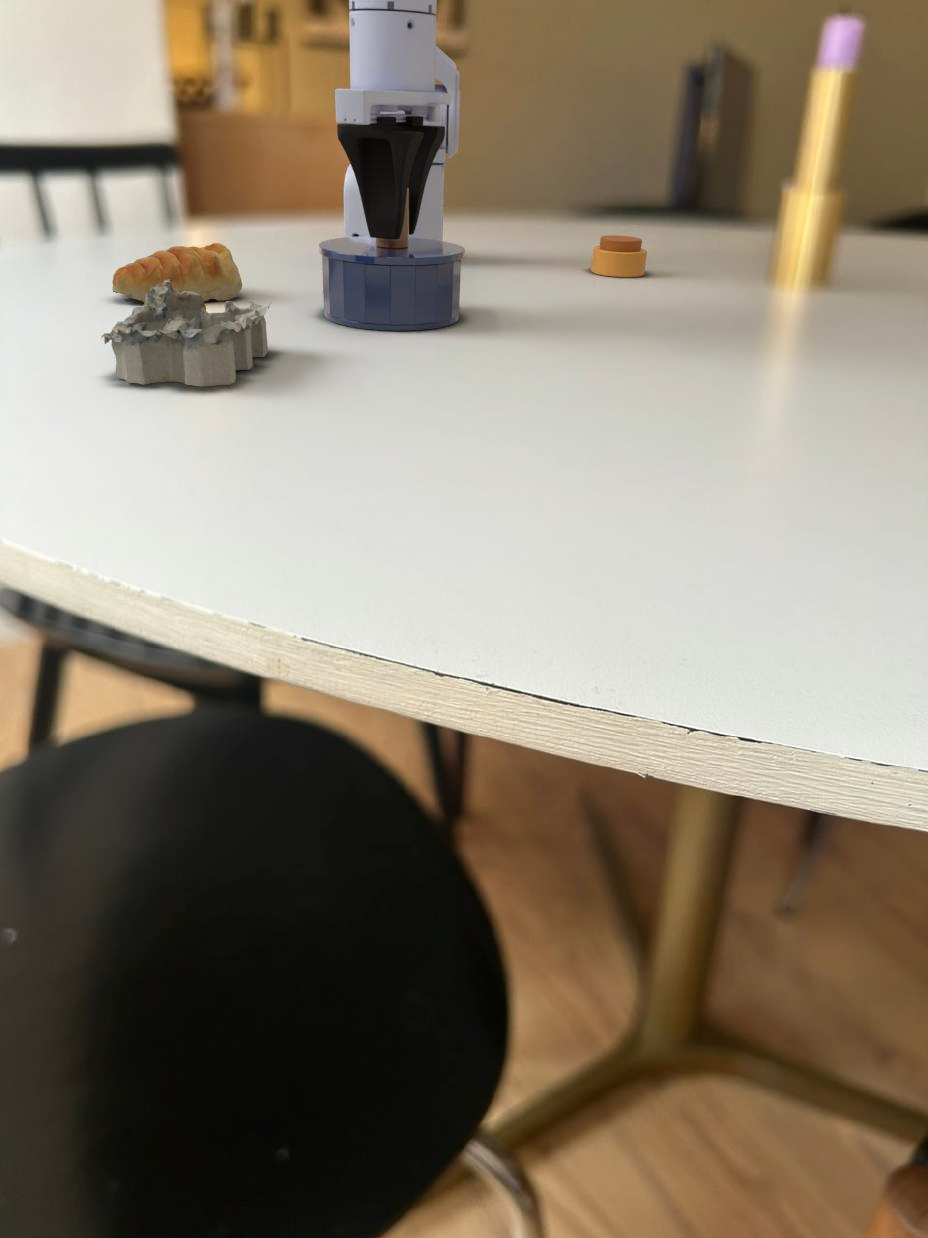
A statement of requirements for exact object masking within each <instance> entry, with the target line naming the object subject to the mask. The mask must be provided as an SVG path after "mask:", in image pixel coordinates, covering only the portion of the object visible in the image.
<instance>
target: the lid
mask: <svg viewBox="0 0 928 1238" xmlns="http://www.w3.org/2000/svg"><path fill="white" fill-rule="evenodd" d="M409 190H410V188H409V187H408V188H407V196H406V205H405V214H404V222H403V227H402V232H401V235H400V239H383V238H371V237H370V236H362V237H345V238H344V237H338V238H337V237H336V238H331V239H325V240H323V241H321V242H319V244H318V253H319V254H320V255H321V256H322V255H324V256H326V257H329V258H333V259H337V260H342V261H349V262H356V263H366V264H380V265H432V264H443V263H450V262H455V261H458V260H461V261H462V260H463V259H464V258H465V257H466V249H465V247H463V246H462V245H460V244H457V243H453V242H449V241H444V240H443V241H438V240H431V239H422V238H411V237H409Z"/></svg>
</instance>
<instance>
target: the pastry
mask: <svg viewBox="0 0 928 1238" xmlns="http://www.w3.org/2000/svg"><path fill="white" fill-rule="evenodd" d="M112 276H113V277H112V281H111V283H112V292H113V293H115V294H120V295H123V296H126V297H127V298H128V297H129V298H131V299H134V300H137V301H140V302H141V301H142V302H143V303H144V304H145V297H146V293H148V292H149V290H150V289H151V288H152V287H155V286H156V285H157V283H159V282H160V283H161V284H163V282H164V281H166V280H168V279H171V280H172V281H171V284H172V287H173V289H177V290H179V291H181V292H183V291H191V292H194V293H197V294H199V295H200V296H201V297H202V299H203V301H204V302H208V301H209V300H211V299H212V300H213V299H214V300H216V301H219V302H220V301H230V300H233V299H235V298H238V297H239V294H240V292H241V290H242V289H243V281H242V278H241V274H240V272H239V268H238V266H237V264H236V263H235V261H234V259H233V254H232V253H231V250H230V249H229V248H228V247H227V246H226V245H224V244H222V243H220V242H213V243H211V244H209V245H205V246H204V247H203V246H202V247H198V246H182V245H176V246H175V245H174V246H171V247H169V248H167V249H165V250H157V251H155V252H154V253H152V254H150V255H147V256H145V257H142V258H138V259H135V260H134V262H130V263H127V264H125V265H124V266H121V267H119V268H118V269H116V270H115V272H114V274H113V275H112Z"/></svg>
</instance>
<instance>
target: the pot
mask: <svg viewBox="0 0 928 1238" xmlns="http://www.w3.org/2000/svg"><path fill="white" fill-rule="evenodd" d="M321 257H322V258H321V260H322V288H323V290H322V293H323V294H322V295H323V297H322V298H323V311H324V317H325V318H326V319H327V320H328V321H331V322H333V323H334V324H338V325H341V326H345V327H351V328H356V329H365V330H372V331H387V332H388V331H389V332H390V331H391V332H394V331H395V332H403V331H404V332H409V331H413V332H414V331H426V330H433V329H434V330H435V329H440V328H444V327H448V326H451V325H454V324H455V323H457V322H458V320H459V315H460V297H461V296H460V295H461V271H462V270H461V269H462V259H461V260H458V261H455V262H450V263H443V264H432V265H380V264H366V263H356V262H349V261H342V260H337V259H333V258H329V257H326V256H324V255H322V254H321Z"/></svg>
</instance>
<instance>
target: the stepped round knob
mask: <svg viewBox="0 0 928 1238" xmlns="http://www.w3.org/2000/svg"><path fill="white" fill-rule="evenodd" d="M599 239H600V240H599V245H595V246H594V247H593V248H592V257H591V266H590V267H591V268H590V272H591V273H593V274H595V275H599V276H604V277H612V278H613V277H614V278H639V277H642V276H644V275H645V272H646V263H647V255H648V251H647V250H646V249H644V248H642V245H643V239H642V238H641V237H636V236H630V235H629V236H628V235H614V234H613V235H612V234H611V235H610V234H609V235H602V236H600V238H599Z"/></svg>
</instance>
